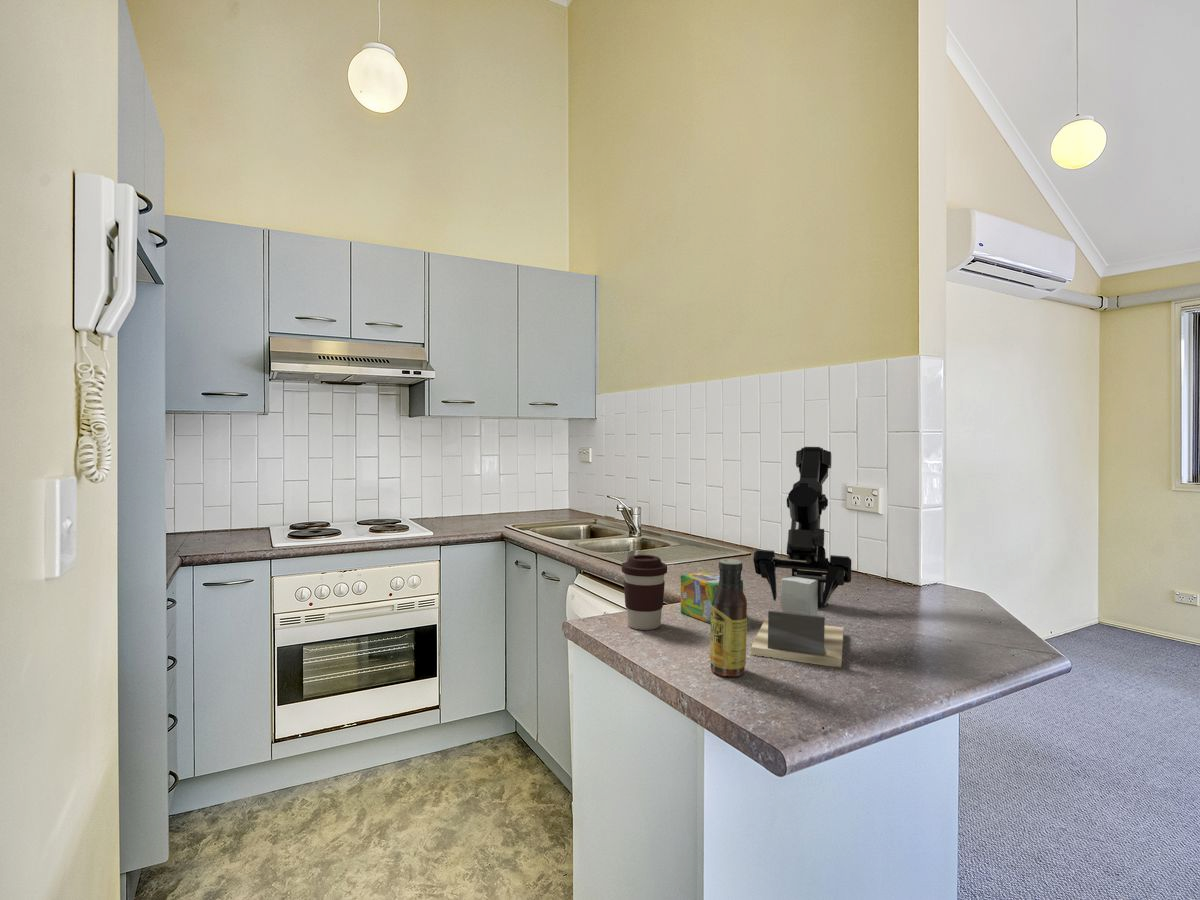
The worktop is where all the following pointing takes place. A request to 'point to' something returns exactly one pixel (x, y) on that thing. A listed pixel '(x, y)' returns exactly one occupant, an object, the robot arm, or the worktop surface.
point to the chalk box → (699, 594)
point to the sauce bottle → (728, 622)
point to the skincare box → (799, 595)
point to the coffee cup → (644, 591)
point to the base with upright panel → (799, 639)
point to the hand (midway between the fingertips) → (798, 602)
